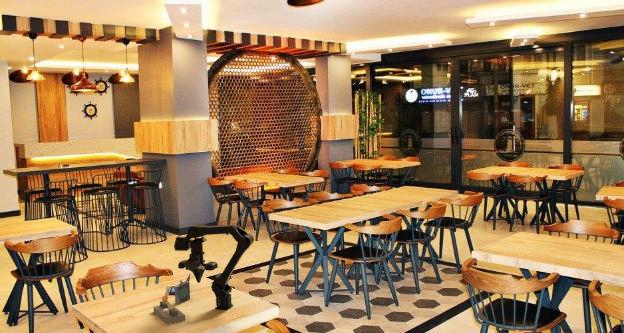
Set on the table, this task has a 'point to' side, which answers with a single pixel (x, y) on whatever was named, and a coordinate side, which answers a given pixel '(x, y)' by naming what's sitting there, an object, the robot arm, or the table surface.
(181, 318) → the switch panel
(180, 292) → the flask
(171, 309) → the brass lever
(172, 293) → the camera
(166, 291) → the steel lever
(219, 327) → the table surface
